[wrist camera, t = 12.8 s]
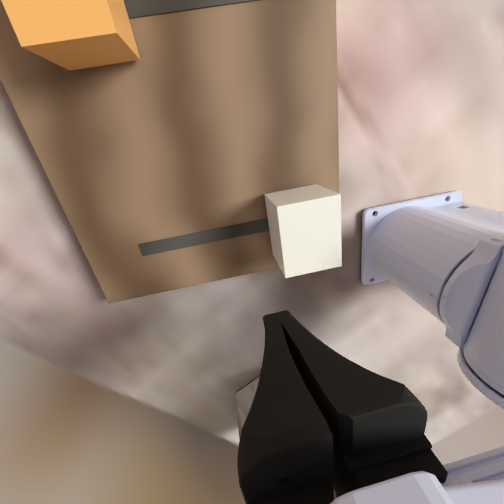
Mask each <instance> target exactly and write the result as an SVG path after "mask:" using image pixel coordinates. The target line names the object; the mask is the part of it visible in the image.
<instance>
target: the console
mask: <svg viewBox="0 0 504 504" xmlns="http://www.w3.org/2000/svg"><path fill="white" fill-rule="evenodd" d="M124 4H125V7H126V11H127V14H128V18H129V21H130V25H131V28H132V32H133V36H134V39H135V43H136V46H137V50H138V53H139V57H140V60H136V61H129V62H123V63H116V64H110V65H103V66H97V67H90V68H83V69H77V70H70V71H69V70H67V69H65V68H63V67H61V66H59V65H57V64H55V63H53V62H51V61H49V60H47V59H45V58H43V57H41V56H39V55H37V54H35V53H33V52H31V51H29V50H27V49H25V48H23V47H21V45H20V42H19V40H18V38H17V36H16V33H15V31H14V29H13V26H12V24H11V22H10V20H9V17H8V15H7V13H6V10H5V8H4V6H3V3H2V1H1V0H0V80H1V82H2V84H3V86H4V88H5V90H6V92H7V94H8V96H9V98H10V101H11V103H12V105H13V107H14V109H15V111H16V113H17V115H18V117H19V119H20V121H21V123H22V125H23V127H24V129H25V132H26V134H27V136H28V138H29V140H30V142H31V144H32V146H33V148H34V150H35V152H36V154H37V156H38V158H39V160H40V162H41V165H42V167H43V169H44V171H45V173H46V175H47V177H48V179H49V181H50V183H51V185H52V187H53V189H54V191H55V193H56V196H57V198H58V200H59V202H60V204H61V206H62V208H63V210H64V212H65V214H66V216H67V218H68V220H69V222H70V224H71V227H72V229H73V231H74V233H75V235H76V237H77V239H78V241H79V243H80V245H81V247H82V249H83V251H84V253H85V255H86V257H87V260H88V262H89V264H90V266H91V268H92V270H93V272H94V274H95V276H96V278H97V280H98V282H99V284H100V286H101V288H102V291H103V293H104V295H105V297H106V299H107V301H108V303H113V302H118V301H122V300H127V299H132V298H137V297H141V296H146V295H151V294H155V293H160V292H165V291H169V290H174V289H179V288H183V287H188V286H193V285H197V284H202V283H207V282H211V281H216V280H221V279H225V278H230V277H235V276H239V275H244V274H249V273H254V272H258V271H263V270H268V269H272V268H277V267H279V265H278V263H277V261H276V259H275V258H274V256H273V252H272V245H271V238H270V231H269V224H268V217H267V209H266V202H265V195H264V194H268V193H273V192H278V191H283V190H289V189H294V188H299V187H304V186H309V185H314V184H317V185H320V186H322V187H324V188H327V189H329V190H332V191H334V192H337V193H339V156H338V97H337V38H336V0H124Z"/></svg>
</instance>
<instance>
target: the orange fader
mask: <svg viewBox="0 0 504 504" xmlns="http://www.w3.org/2000/svg"><path fill="white" fill-rule="evenodd" d="M1 1H2V3H3V6H4V8H5V10H6V13H7V15H8V17H9V20H10V22H11V24H12V26H13V29H14V31H15V33H16V36H17V38H18V40H19V42H20V45H21V47H23V48H25V49H27V50H29V51H31V52H33V53H35V54H37V55H39V56H41V57H43V58H45V59H47V60H49V61H51V62H53V63H55V64H57V65H59V66H61V67H63V68H65V69H67V70H69V71H70V70H77V69H83V68H90V67H97V66H103V65H110V64H116V63H123V62H129V61H136V60H140V57H139V53H138V50H137V46H136V43H135V39H134V36H133V32H132V28H131V25H130V21H129V18H128V14H127V11H126V7H125V4H124V0H1Z"/></svg>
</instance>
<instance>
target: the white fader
mask: <svg viewBox="0 0 504 504" xmlns="http://www.w3.org/2000/svg"><path fill="white" fill-rule="evenodd" d="M264 195H265V202H266V209H267V217H268V224H269V231H270V238H271V245H272V252H273V256H274V258H275V259H276V261H277V263H278V265H279V267H280V269H281V271H282V272H283V274H284V276H285V278H289V277H294V276H298V275H303V274H307V273H312V272H317V271H321V270H326V269H330V268H335V267H340V266H342V245H341V194H339V193H337V192H334V191H332V190H329V189H327V188H324V187H322V186H320V185H317V184H314V185H309V186H304V187H299V188H294V189H289V190H283V191H278V192H273V193H268V194H264Z"/></svg>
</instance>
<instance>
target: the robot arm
mask: <svg viewBox="0 0 504 504" xmlns="http://www.w3.org/2000/svg"><path fill="white" fill-rule="evenodd" d="M446 197H447V198H446ZM445 198H446V200H445ZM461 201H462V192H461V191H451V192H446V193H441V194H436V195H431V196H427V197H422V198H417V199H412V200H407V201H402V202H397V203H392V204H387V205H382V206H377V207H372V208H368V209H366V210H364V212H363V217H362V262H361V282H362V283H363V284H364V285H370V284H374V283H379V282H383V281H388V280H389V281H390V282H392V283H393V284H394V285H395V286H397V287H398V288H399V289H401V290H402V291H403V292H404V293H406V294H407V295H408V296H409V297H411V298H412V299H413V300H415V301H416V302H417V303H418V304H420V305H421V306H422V307H423V308H425V309H426V310H427V311H429V312H430V313H431V314H432V315H434V316H435V317H436V318H437V319H439V320H440V321H441V322H443V323H444V324H445V325H446V334H445V336H446V337H447V338H448V339H450V340H451V341H452V342H453V343H454V344H456V345H457V346H458V347H459V348H460V349H459V351H458V354H457V356H458V363H459V366H460V368H461V370H462V372H463V373H464V375H465V376H466V377H467V379H468V380H469V381H470V382H471V383H472V384H473V385H474V386H475V387H476V388H477V389H478V390H479V391H480V392H481V393H482V394H483V395H485V396H486V397H487V398H489V399H490V400H491V401H493V402H494V403H495V404H497V405H498V406H500V407H501V408H503V409H504V212H500V211H496V210H492V209H488V208H484V207H480V206H476V205H472V204H467V203H463V202H461ZM374 211H375V214H374V215H372V214H373V212H374ZM371 278H372V280H370V279H371ZM263 321H264V326H265V349H264V357H263V364H262V369H261V374H260V378H259V382H258V386H257V389H256V393H255V396H254V399H253V402H252V405H251V408H250V410H249V413H248V415H247V417H246V420H245V422H244V425H243V427H242V430H241V436H240V442H239V449H238V476H239V483H240V488H241V491H242V493H243V496H244V499H245V502H246V504H504V446H503V447H500V448H497V449H494V450H491V451H487V452H484V453H481V454H478V455H475V456H471V457H468V458H465V459H462V460H459V461H456V462H453V463H449V464H446V465H442V464H441V462H440V461H439V460H438V459H437V457H436V456H435V455H434V453H433V452H432V450H431V448H432V445H431V443H430V442H429V440H428V439H427V438H426V436H425V435H424V432H425V427H426V422H427V411H426V409H425V407H424V406H423V405H422V404H421V402H420V401H419V400H418V399H417V398H416V397H415V396H414V394H413V393H412V392H411V391H410V390H409V389H408V388H407V387H406V386H405V385H404V384H401V383H399V382H396V381H393V380H391V379H388V378H385V377H383V376H380V375H378V374H376V373H374V372H371V371H369V370H367V369H365V368H363V367H361V366H359V365H357V364H356V363H354V362H352V361H350V360H348V359H346V358H345V357H343V356H342V355H340V354H338V353H337V352H335V351H334V350H332V349H331V348H329V347H328V346H327V345H325V344H324V343H323V342H321V341H320V340H319V339H317V338H316V337H315V336H314V335H313V334H311V333H310V332H309V331H308V330H307V329H306V328H305V327H304V326H302V325H301V324H300V323H299V322H298V321H297V320H296V319H295V318H294V317H293V316H292V315H291V313H290V312H289V311H287V310H285V311H281V312H277V313H273V314H269V315H265V316H264V317H263ZM334 490H335V494H336V497H337V498H336V499H334Z"/></svg>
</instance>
